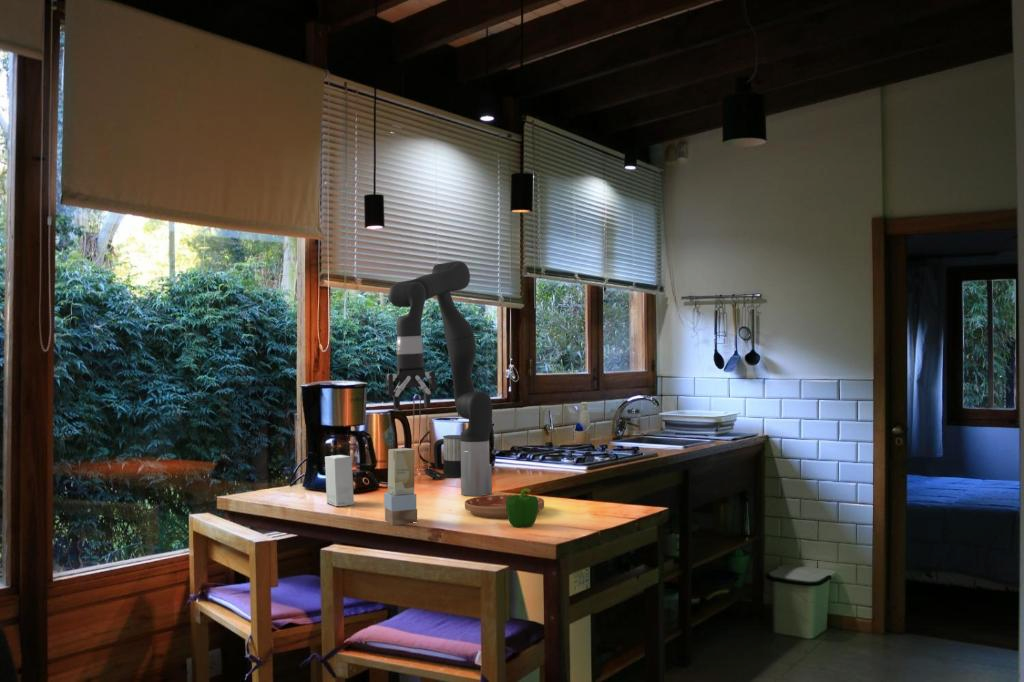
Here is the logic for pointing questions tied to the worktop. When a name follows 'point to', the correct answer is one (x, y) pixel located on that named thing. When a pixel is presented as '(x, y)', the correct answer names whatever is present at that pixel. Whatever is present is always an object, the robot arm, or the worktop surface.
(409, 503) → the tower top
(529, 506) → the bell pepper
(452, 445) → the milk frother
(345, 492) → the skincare box
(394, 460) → the skincare box
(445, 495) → the worktop surface
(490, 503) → the saucer
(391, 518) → the tower base
